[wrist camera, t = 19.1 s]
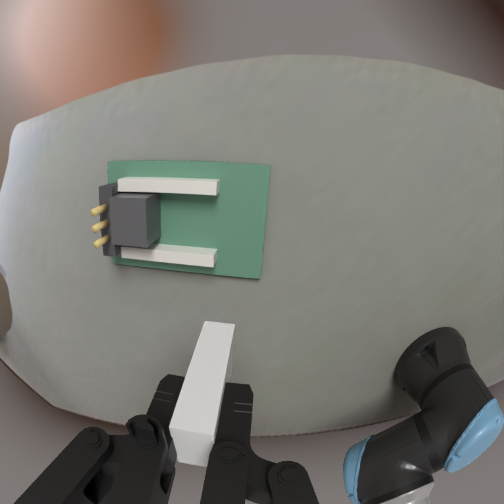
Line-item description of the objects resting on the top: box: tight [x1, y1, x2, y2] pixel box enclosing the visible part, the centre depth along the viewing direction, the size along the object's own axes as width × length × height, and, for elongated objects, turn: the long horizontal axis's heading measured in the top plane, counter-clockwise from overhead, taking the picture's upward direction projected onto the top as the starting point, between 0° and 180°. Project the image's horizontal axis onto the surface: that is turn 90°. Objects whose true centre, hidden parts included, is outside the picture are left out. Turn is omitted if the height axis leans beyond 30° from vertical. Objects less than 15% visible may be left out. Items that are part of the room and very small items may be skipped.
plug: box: [109, 192, 161, 248], centre depth 34 cm, size 6×5×5 cm
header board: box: [91, 161, 270, 279], centre depth 34 cm, size 15×22×8 cm
